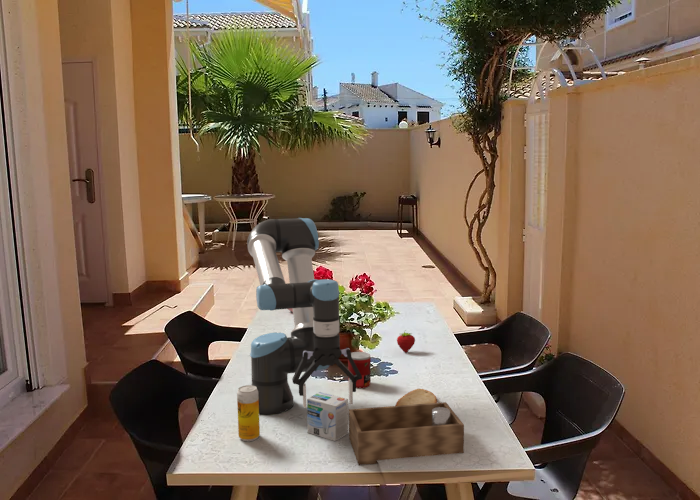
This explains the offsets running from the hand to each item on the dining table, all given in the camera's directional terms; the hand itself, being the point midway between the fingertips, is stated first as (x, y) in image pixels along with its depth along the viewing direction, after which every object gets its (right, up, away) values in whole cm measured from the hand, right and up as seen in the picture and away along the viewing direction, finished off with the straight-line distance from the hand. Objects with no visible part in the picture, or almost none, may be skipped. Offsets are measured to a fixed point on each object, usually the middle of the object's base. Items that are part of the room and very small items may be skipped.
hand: (327, 404), depth 187 cm
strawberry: (+29, +3, +76) cm, 81 cm away
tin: (+32, -9, -6) cm, 34 cm away
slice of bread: (+28, -6, +22) cm, 36 cm away
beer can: (-23, -10, -1) cm, 25 cm away
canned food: (+10, -3, +40) cm, 42 cm away
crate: (+22, -10, -8) cm, 25 cm away
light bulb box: (0, -9, +2) cm, 9 cm away
